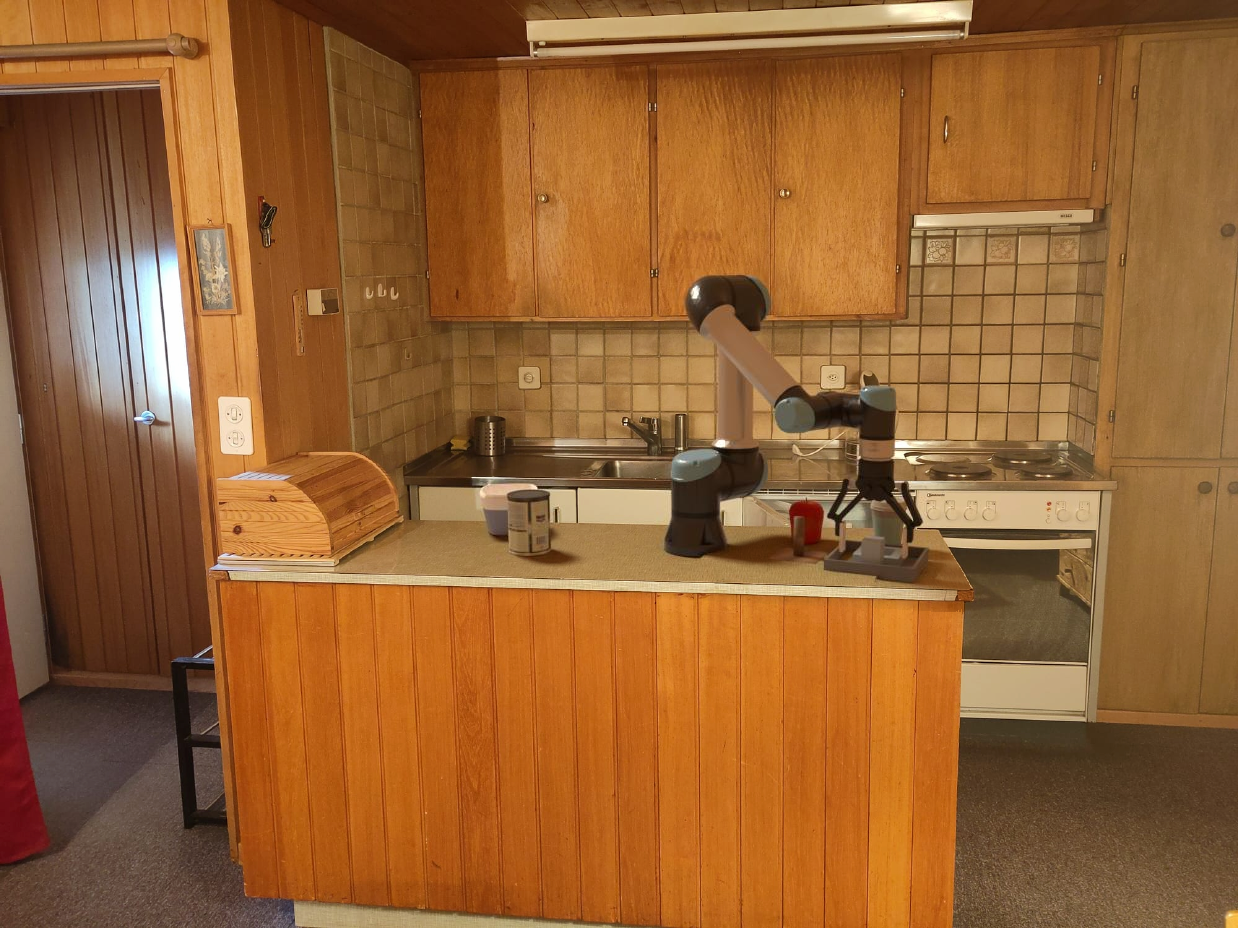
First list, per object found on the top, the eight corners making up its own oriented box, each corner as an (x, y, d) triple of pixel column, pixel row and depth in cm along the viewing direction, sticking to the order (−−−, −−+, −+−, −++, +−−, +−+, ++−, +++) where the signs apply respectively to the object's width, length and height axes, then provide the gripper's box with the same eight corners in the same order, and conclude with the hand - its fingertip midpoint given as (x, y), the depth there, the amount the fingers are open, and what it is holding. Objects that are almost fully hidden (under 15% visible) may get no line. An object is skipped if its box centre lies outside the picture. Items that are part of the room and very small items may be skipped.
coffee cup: (907, 554, 243) (908, 504, 241) (869, 552, 245) (871, 502, 243) (904, 545, 251) (906, 496, 249) (868, 543, 253) (869, 495, 251)
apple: (821, 549, 248) (822, 501, 246) (786, 547, 251) (787, 499, 249) (825, 541, 256) (826, 494, 254) (791, 539, 259) (791, 492, 257)
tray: (823, 573, 228) (823, 559, 227) (843, 552, 245) (844, 539, 245) (914, 582, 220) (914, 568, 219) (928, 560, 237) (929, 547, 237)
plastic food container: (481, 525, 277) (479, 484, 275) (539, 523, 278) (538, 482, 277) (479, 538, 262) (478, 495, 260) (541, 536, 263) (540, 493, 262)
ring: (846, 570, 228) (847, 539, 227) (861, 554, 241) (862, 524, 240) (893, 575, 224) (894, 543, 222) (906, 558, 237) (907, 528, 236)
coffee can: (521, 543, 256) (520, 487, 254) (558, 547, 252) (557, 490, 250) (500, 553, 247) (498, 495, 245) (538, 558, 243) (536, 499, 240)
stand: (768, 561, 237) (769, 520, 236) (782, 550, 247) (782, 510, 246) (815, 567, 233) (816, 524, 231) (827, 555, 243) (828, 514, 241)
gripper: (814, 457, 226) (812, 552, 229) (933, 464, 215) (929, 563, 219) (823, 452, 232) (821, 544, 236) (938, 458, 222) (934, 555, 225)
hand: (873, 553), depth 227 cm, fingers open, 13 cm apart
